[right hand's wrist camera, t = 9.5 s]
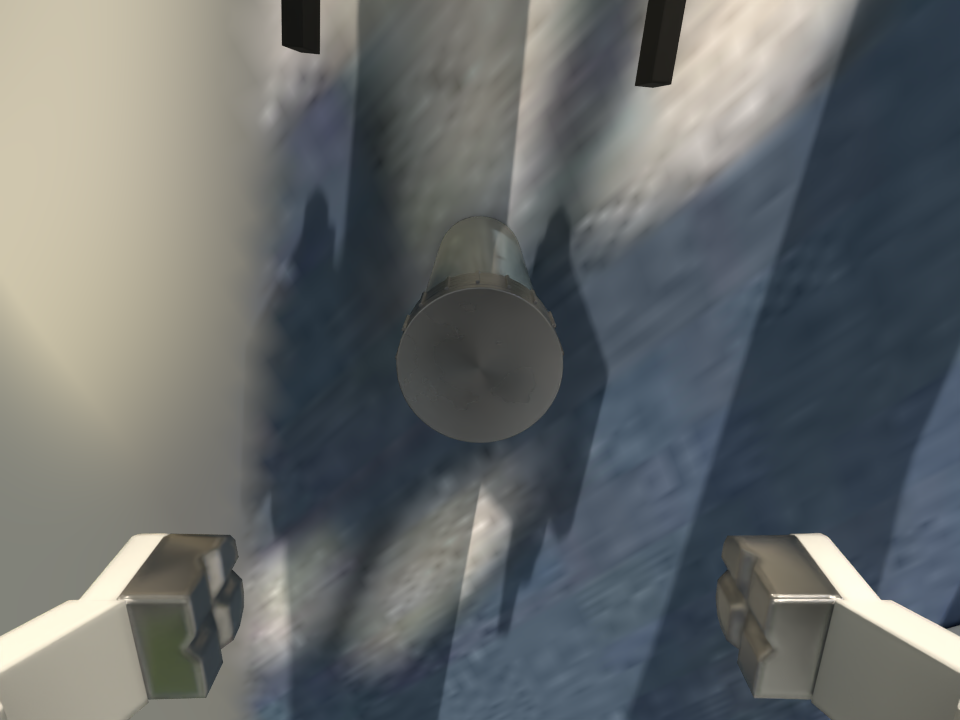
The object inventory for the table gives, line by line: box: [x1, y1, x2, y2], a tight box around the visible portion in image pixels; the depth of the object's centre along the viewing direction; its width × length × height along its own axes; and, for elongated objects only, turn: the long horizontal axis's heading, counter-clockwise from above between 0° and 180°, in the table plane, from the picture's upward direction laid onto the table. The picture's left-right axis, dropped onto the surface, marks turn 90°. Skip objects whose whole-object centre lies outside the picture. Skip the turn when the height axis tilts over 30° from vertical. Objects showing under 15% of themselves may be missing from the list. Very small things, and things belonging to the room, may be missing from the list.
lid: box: [396, 270, 564, 443], centre depth 20 cm, size 5×5×2 cm
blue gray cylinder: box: [426, 216, 533, 293], centre depth 27 cm, size 4×4×16 cm
